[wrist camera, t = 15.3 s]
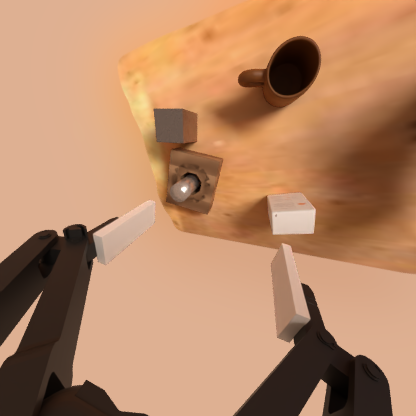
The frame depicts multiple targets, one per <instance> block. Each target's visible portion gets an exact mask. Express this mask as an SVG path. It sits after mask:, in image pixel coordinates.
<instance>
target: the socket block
mask: <svg viewBox="0 0 416 416" xmlns="http://www.w3.org/2000/svg"><path fill="white" fill-rule="evenodd" d="M222 162H223V159H222V158H218V157H214V156H210V155H206V154H202V153H198V152H195V151H191V150H187V149H183V148H175V149H171V154H170V165H169V176H168V188H167V199H166V202H168V203H172V204H175V205H178V206H181V207H185V208H188V209H191V210H194V211H198V212H201V213H204V214H207V215H208V213H209V211H210V209H211V208H212V204H213V200H214V196H215V192H216V187H217V183H218V179H219V175H220V171H221V167H222ZM188 172H190V173H193V174H197V176H198V177H199V179H200V181H201V182H202V184H201V188H200V189H196V190H195V191H194V192H193V193H192V194H191V195H190V196H189V197H188V198H187V199H186V200H185V201H183V202H177V201H175V200H174V199H172V197H171V195H170V188H171V187H172V186H173V185H174V184H176V183H177V182H179V181H180V180H182V179H183V178H185V177H186V176H187V174H188Z"/></svg>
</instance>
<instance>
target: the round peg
mask: <svg viewBox="0 0 416 416" xmlns="http://www.w3.org/2000/svg"><path fill="white" fill-rule="evenodd" d="M201 183H202V182H201V181H200V179H199V177H198V176H197V174H193V173H190V174H189V175H187V176H186V177H185V178H183V179H182V180H180V181H179V182H177V183H176V184H174V185H173V186H172V187H171V188H170V195H171V197H172V199H174V200H175V201H177V202H183V201H185V200H186V199H187V198H188V197H189V196H190V195H191V194H192V193H193V192H194V191H195V190H196V189H197V188H198V187H199V185H200V184H201Z"/></svg>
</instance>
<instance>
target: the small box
mask: <svg viewBox="0 0 416 416" xmlns="http://www.w3.org/2000/svg"><path fill="white" fill-rule="evenodd" d="M267 202H268V216H269V220H270V225H271V229H272V234H273V235H283V234H314V225H315V212H316V209H315V208H314V207H313V206H312V204H311V203H310V202H309V201H308V200H307V199H306V197H305V196H304V195H303V194H302V193H301V192H297V193H287V194H276V195H267Z"/></svg>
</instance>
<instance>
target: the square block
mask: <svg viewBox="0 0 416 416" xmlns="http://www.w3.org/2000/svg"><path fill="white" fill-rule="evenodd" d="M154 117H155V127H156V137H157V142H169V143H189V142H195V141H197V114H196V113H193V112H190V111H187V110H185V109H154Z"/></svg>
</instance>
